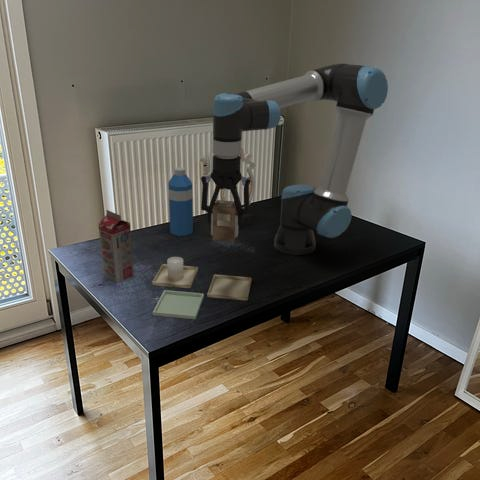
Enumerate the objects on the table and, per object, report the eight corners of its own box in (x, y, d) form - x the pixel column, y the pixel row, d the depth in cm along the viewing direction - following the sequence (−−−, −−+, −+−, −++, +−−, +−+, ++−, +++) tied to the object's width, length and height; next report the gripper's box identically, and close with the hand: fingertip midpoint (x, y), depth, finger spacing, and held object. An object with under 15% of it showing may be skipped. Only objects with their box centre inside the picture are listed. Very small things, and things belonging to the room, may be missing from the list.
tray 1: (198, 271, 157) (198, 267, 156) (190, 289, 146) (190, 285, 145) (162, 268, 158) (162, 264, 157) (152, 286, 147) (151, 282, 146)
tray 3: (251, 282, 151) (251, 277, 150) (247, 302, 140) (247, 297, 140) (214, 278, 152) (214, 274, 152) (207, 298, 142) (207, 293, 141)
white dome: (185, 274, 154) (184, 257, 151) (181, 281, 149) (181, 264, 146) (170, 272, 154) (169, 256, 152) (166, 280, 150) (165, 263, 147)
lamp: (244, 215, 203) (246, 141, 190) (258, 221, 197) (262, 145, 184) (213, 224, 193) (213, 147, 179) (227, 231, 187) (229, 152, 173)
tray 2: (203, 298, 142) (203, 293, 141) (195, 321, 131) (195, 316, 130) (164, 294, 143) (164, 290, 142) (152, 317, 132) (152, 312, 131)
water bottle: (189, 237, 181) (188, 173, 170) (166, 234, 183) (163, 171, 172) (196, 227, 189) (195, 166, 179) (173, 225, 191) (171, 164, 180)
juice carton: (120, 270, 156) (115, 207, 147) (133, 276, 152) (129, 212, 143) (103, 277, 151) (97, 212, 142) (116, 284, 148) (110, 218, 138)
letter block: (236, 233, 140) (237, 201, 136) (233, 242, 134) (234, 208, 130) (216, 232, 140) (216, 199, 136) (212, 240, 135) (213, 206, 131)
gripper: (263, 154, 130) (258, 231, 140) (194, 149, 132) (194, 226, 141) (261, 161, 123) (256, 242, 133) (188, 156, 125) (189, 236, 135)
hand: (224, 234), depth 137 cm, fingers closed on letter block, 6 cm apart
